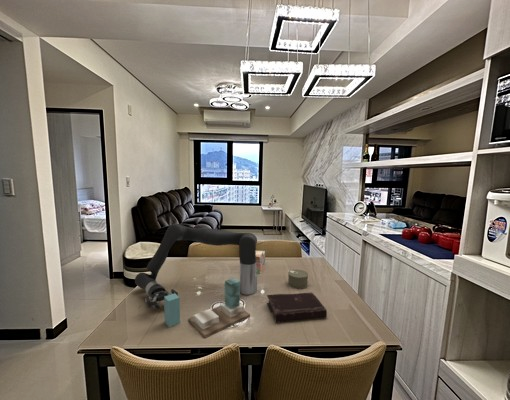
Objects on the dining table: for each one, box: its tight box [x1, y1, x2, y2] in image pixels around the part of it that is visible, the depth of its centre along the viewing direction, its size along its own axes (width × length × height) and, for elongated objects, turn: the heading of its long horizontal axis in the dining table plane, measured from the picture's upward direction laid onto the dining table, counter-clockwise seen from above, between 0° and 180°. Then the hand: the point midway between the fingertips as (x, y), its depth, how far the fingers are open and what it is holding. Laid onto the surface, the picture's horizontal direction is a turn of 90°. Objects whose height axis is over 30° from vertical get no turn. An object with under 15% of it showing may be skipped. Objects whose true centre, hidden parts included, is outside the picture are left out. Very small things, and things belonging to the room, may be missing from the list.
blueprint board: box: [187, 277, 251, 339], centre depth 114 cm, size 24×15×16 cm, turn 131°
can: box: [287, 269, 309, 289], centre depth 152 cm, size 12×12×7 cm
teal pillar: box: [163, 293, 181, 328], centre depth 111 cm, size 5×5×12 cm
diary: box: [266, 292, 328, 324], centre depth 124 cm, size 19×25×5 cm
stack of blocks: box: [256, 250, 266, 275], centre depth 177 cm, size 21×6×12 cm, turn 169°
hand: (167, 303), depth 115 cm, fingers open, 8 cm apart
